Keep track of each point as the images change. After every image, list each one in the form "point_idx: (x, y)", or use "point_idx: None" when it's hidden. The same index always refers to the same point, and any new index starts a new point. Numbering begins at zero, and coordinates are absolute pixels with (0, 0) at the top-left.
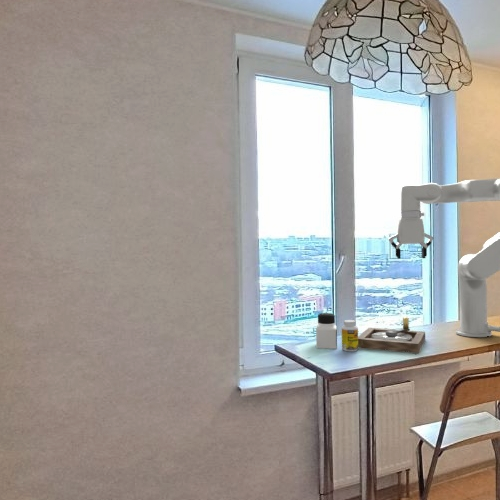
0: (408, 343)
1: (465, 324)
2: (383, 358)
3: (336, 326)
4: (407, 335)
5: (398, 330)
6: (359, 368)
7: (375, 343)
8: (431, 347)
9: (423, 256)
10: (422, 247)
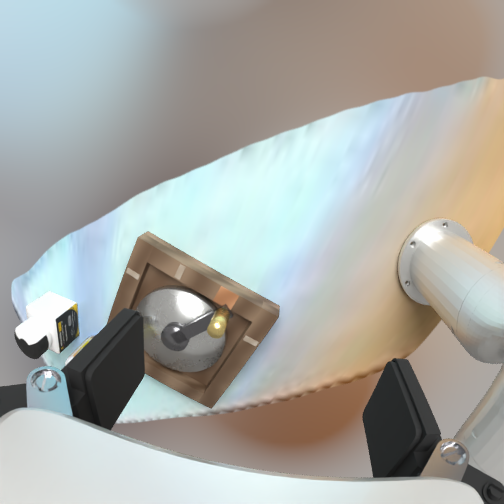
0: (194, 399)
1: (419, 287)
2: (149, 402)
3: (55, 327)
4: (217, 339)
5: (195, 330)
6: (115, 423)
7: None
8: (260, 366)
9: (365, 422)
10: (415, 459)
